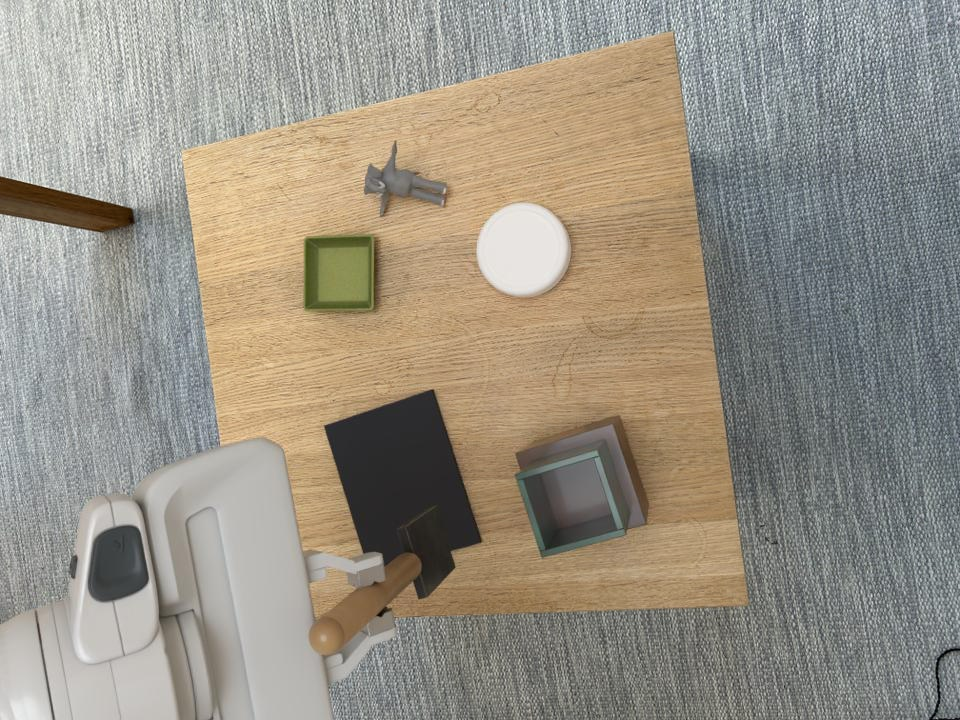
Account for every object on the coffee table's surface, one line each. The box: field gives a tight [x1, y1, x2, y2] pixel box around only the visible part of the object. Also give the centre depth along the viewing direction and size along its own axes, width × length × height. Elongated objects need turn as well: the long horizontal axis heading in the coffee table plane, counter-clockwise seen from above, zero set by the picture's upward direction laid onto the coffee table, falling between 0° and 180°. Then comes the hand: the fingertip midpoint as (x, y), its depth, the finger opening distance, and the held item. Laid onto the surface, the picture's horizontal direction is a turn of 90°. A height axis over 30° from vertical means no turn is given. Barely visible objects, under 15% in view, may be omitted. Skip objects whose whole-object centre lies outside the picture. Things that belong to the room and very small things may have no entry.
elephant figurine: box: [363, 140, 448, 218], centre depth 85 cm, size 10×6×9 cm
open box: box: [514, 414, 650, 559], centre depth 75 cm, size 10×10×18 cm
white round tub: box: [475, 201, 572, 299], centre depth 83 cm, size 10×10×4 cm
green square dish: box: [302, 233, 375, 312], centre depth 89 cm, size 9×9×2 cm
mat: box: [323, 388, 483, 566], centre depth 88 cm, size 18×14×1 cm
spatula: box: [309, 505, 457, 655], centre depth 47 cm, size 5×2×21 cm, turn 18°
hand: (386, 591), depth 44 cm, fingers closed on spatula, 2 cm apart
